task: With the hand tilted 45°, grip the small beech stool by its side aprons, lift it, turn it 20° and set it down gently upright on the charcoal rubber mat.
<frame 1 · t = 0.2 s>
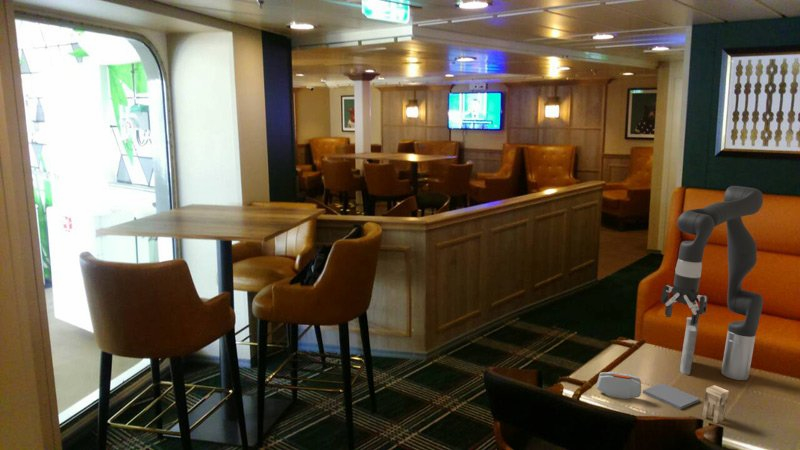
hand: (680, 320, 206), 29 cm above the table, tool pointing down, fingers open, 8 cm apart
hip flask: (685, 367, 243), on the table
beech stool: (713, 418, 202), on the table
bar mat: (670, 397, 216), on the table
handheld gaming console: (617, 396, 215), on the table
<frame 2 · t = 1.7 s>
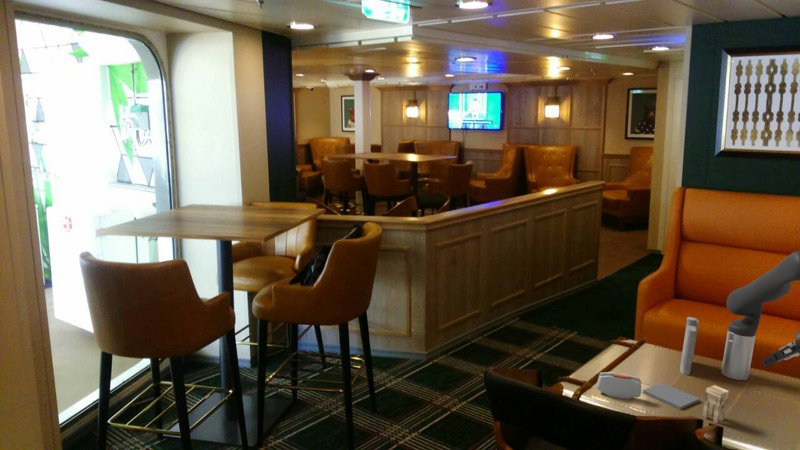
hand: (770, 361, 186), 25 cm above the table, tool tilted 45°, fingers open, 8 cm apart
nothing on the table moved.
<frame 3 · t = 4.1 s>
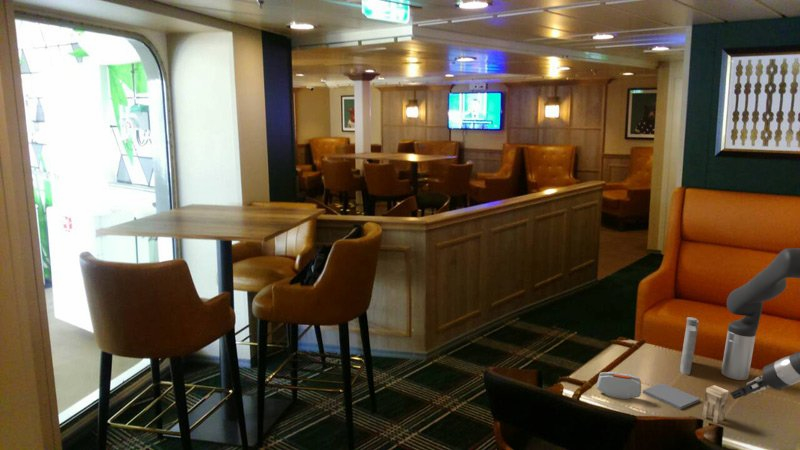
hand: (739, 393, 195), 12 cm above the table, tool tilted 45°, fingers open, 8 cm apart
nothing on the table moved.
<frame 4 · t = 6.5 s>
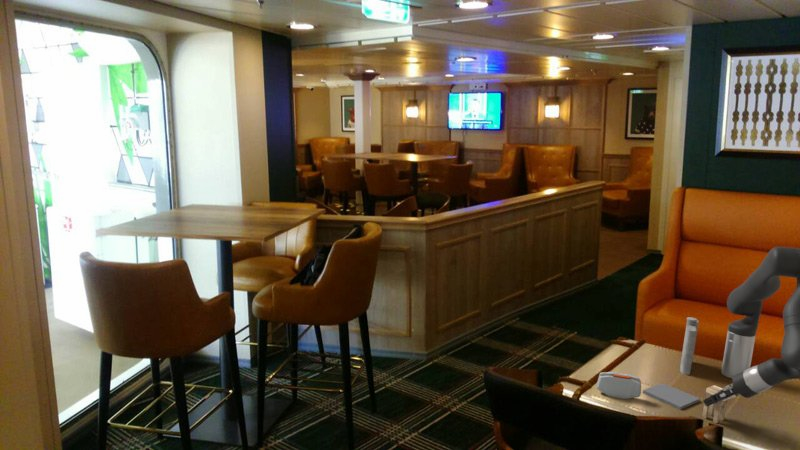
hand: (709, 401, 203), 5 cm above the table, tool tilted 45°, fingers closed on beech stool, 4 cm apart
beech stool: (713, 418, 202), on the table, touching gripper
everything else where it was.
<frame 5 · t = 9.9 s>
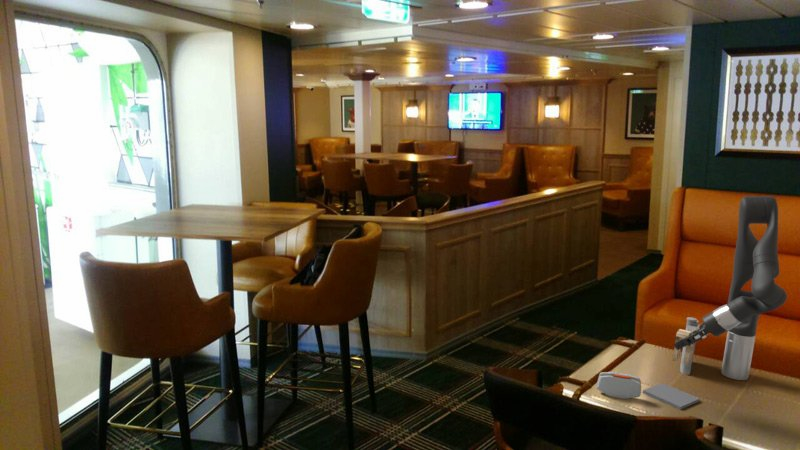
hand: (678, 344, 211), 20 cm above the table, tool tilted 45°, fingers closed on beech stool, 4 cm apart
beech stool: (681, 360, 211), point 14 cm above the table, touching gripper
everything else where it was.
when the fingers open (8 cm above the table, at t = 13.6 s): beech stool drops 1 cm, resting on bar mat.
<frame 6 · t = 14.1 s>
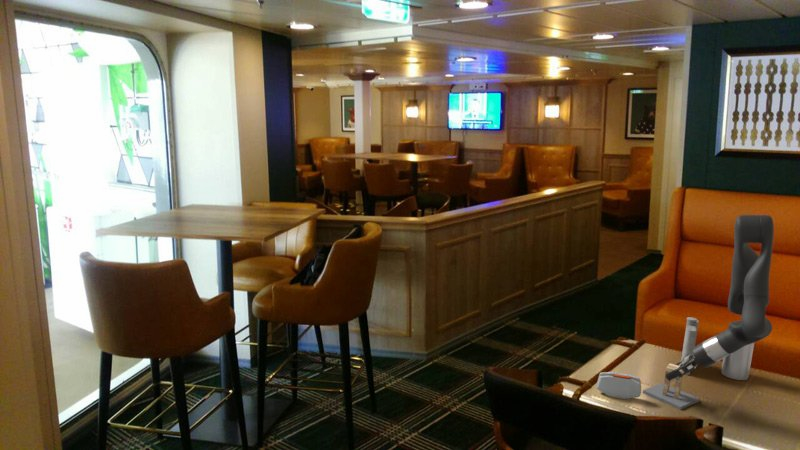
hand: (669, 373, 215), 8 cm above the table, tool tilted 45°, fingers open, 8 cm apart
beech stool: (671, 394, 216), point 1 cm above the table, touching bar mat
everything else where it was.
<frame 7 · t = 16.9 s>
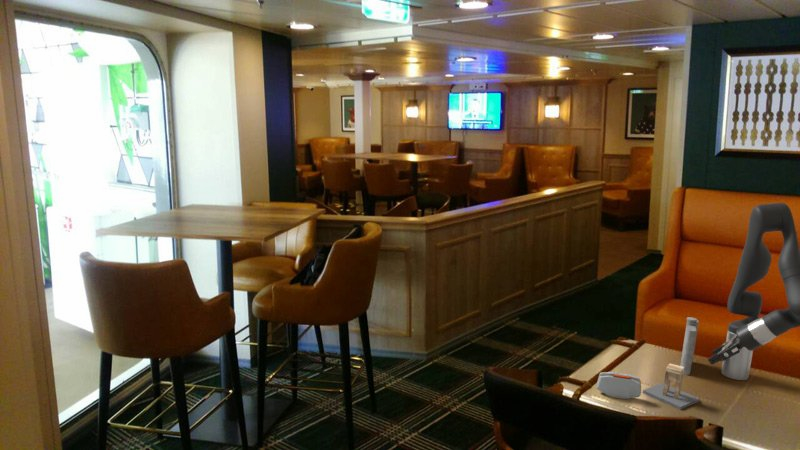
hand: (711, 358, 207), 17 cm above the table, tool tilted 45°, fingers open, 8 cm apart
nothing on the table moved.
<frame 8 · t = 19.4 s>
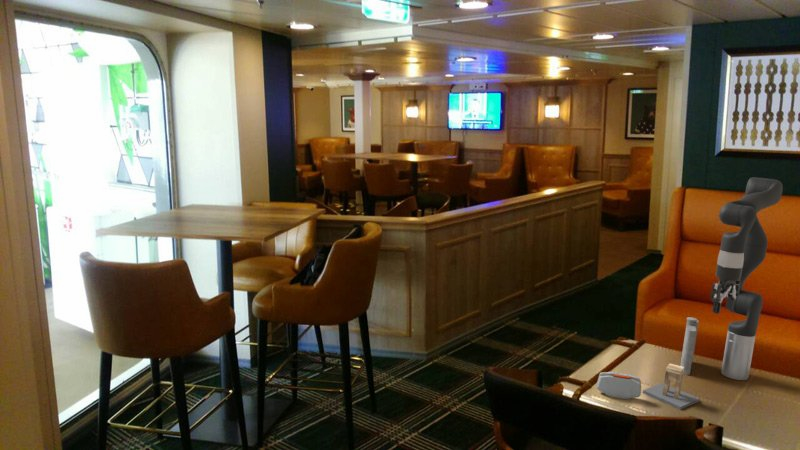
hand: (722, 311, 209), 32 cm above the table, tool pointing down, fingers open, 8 cm apart
nothing on the table moved.
at the end: beech stool inside the target area on the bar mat (0.0 cm from its centre), point 1.0 cm above the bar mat's base; beech stool tilted 0°; the gripper is holding nothing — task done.
